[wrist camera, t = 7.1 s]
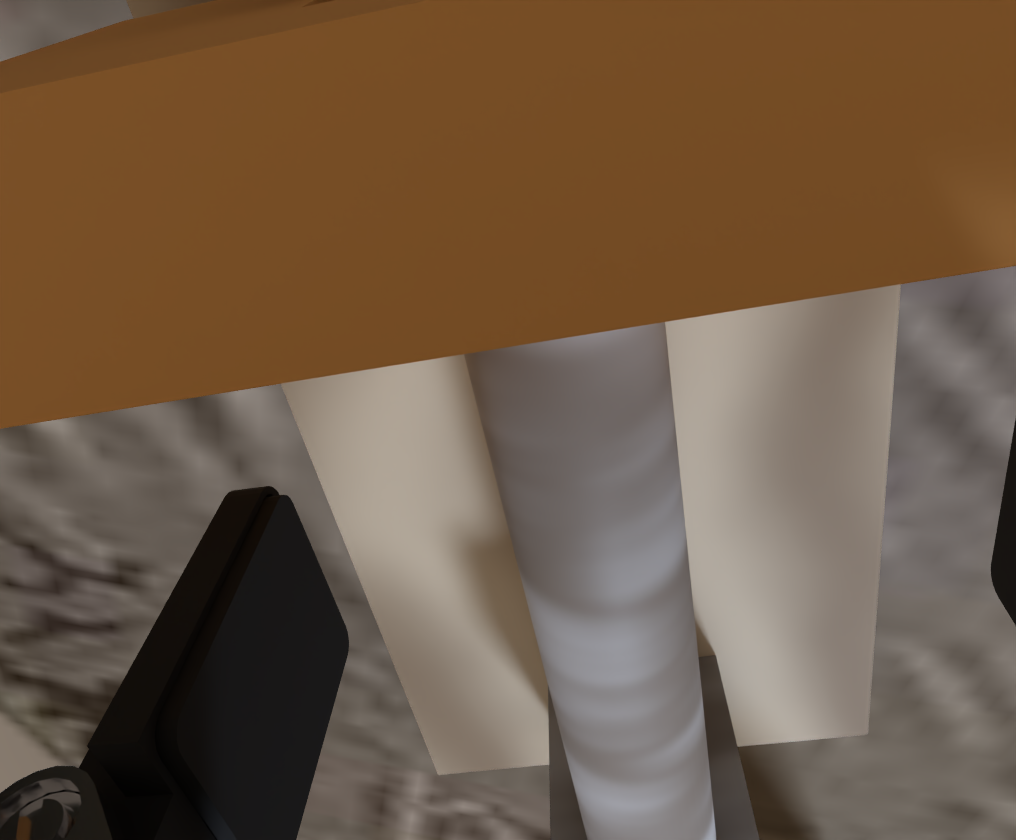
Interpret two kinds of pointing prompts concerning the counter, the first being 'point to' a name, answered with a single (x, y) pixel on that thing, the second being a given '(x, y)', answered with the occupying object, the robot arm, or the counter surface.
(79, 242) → the brown slab
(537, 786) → the counter surface
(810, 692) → the pipe rig
